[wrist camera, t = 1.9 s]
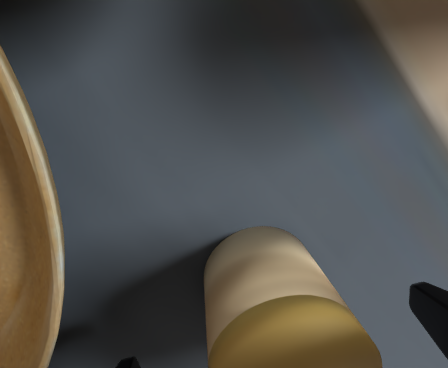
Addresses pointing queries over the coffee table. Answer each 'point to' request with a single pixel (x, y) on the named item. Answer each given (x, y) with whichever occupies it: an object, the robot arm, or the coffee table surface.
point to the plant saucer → (27, 235)
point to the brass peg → (277, 308)
